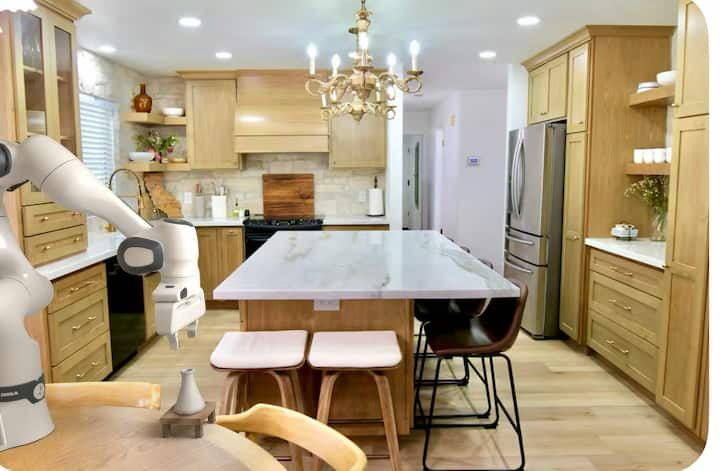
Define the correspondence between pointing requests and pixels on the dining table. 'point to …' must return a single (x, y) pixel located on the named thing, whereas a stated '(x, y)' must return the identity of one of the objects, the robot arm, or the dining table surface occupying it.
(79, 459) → the dining table surface
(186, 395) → the flask
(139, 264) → the robot arm
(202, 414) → the walnut stand
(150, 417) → the dining table surface
